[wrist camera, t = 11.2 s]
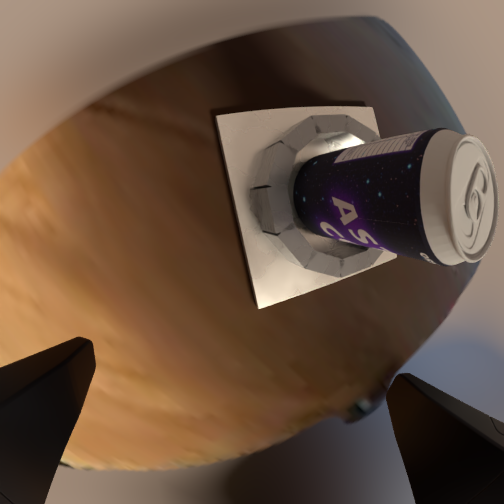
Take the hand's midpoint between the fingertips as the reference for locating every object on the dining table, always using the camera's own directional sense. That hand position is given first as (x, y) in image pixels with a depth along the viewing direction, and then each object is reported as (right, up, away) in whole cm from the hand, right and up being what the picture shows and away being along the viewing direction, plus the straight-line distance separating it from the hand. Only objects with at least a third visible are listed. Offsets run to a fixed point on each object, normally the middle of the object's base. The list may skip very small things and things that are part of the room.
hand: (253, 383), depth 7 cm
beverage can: (+5, +7, +12) cm, 15 cm away
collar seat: (+5, +8, +13) cm, 16 cm away
